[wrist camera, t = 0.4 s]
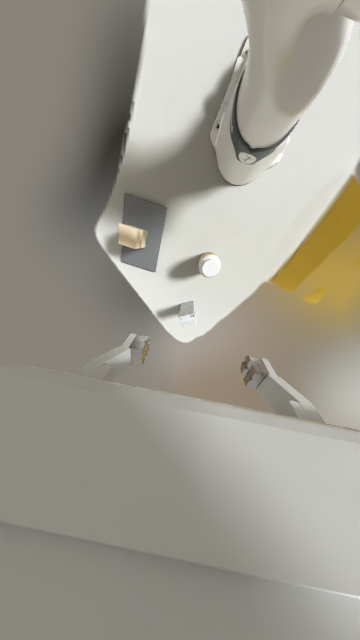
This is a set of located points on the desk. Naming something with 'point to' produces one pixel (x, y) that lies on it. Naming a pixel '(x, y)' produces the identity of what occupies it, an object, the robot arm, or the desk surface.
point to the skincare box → (187, 313)
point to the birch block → (132, 236)
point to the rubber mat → (147, 219)
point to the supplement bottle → (209, 264)
